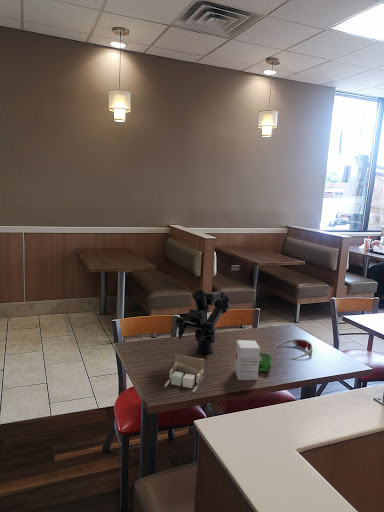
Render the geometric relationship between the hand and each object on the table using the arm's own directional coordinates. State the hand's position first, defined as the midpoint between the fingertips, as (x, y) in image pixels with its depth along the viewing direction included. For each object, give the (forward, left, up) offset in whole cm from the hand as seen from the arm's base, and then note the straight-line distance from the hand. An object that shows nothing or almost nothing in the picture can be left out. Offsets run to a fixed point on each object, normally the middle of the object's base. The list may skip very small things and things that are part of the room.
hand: (188, 340), depth 179 cm
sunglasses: (-58, +20, -14) cm, 63 cm away
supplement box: (-17, +21, -14) cm, 30 cm away
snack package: (-30, +21, -14) cm, 39 cm away
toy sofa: (+6, +7, -14) cm, 16 cm away
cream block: (+9, +11, -14) cm, 20 cm away
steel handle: (+8, +8, -14) cm, 18 cm away
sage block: (+12, +7, -14) cm, 19 cm away
